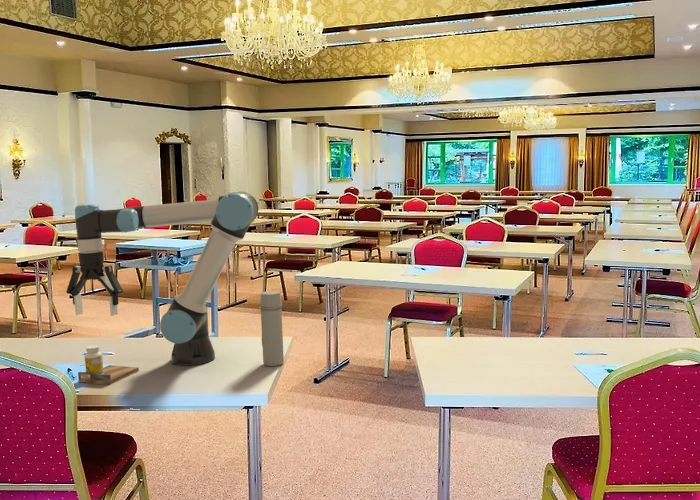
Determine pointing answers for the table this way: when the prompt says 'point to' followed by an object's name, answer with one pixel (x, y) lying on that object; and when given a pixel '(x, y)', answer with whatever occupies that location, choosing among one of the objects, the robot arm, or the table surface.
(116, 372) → the wooden block
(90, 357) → the supplement bottle
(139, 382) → the table surface
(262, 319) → the water bottle
